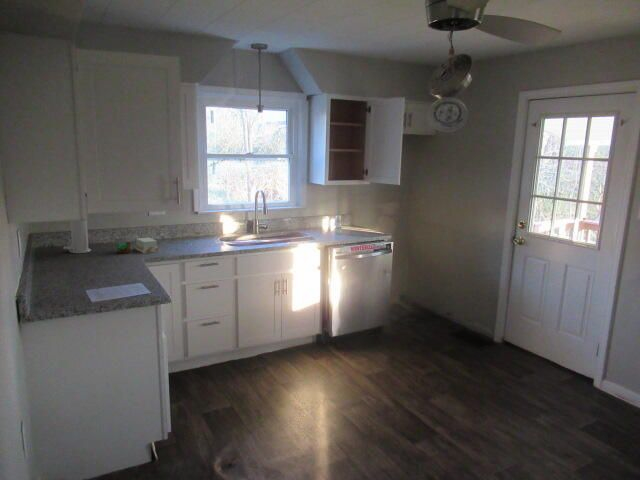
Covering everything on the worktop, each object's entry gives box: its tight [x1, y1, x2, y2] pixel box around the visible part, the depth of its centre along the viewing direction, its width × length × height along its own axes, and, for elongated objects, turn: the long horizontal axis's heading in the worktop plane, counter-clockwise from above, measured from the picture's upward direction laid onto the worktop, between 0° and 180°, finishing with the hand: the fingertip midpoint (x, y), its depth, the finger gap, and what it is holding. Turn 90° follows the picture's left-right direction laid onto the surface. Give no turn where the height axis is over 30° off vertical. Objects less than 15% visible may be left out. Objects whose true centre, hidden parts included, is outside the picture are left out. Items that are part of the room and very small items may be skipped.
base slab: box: [135, 243, 159, 254], centre depth 320 cm, size 10×14×4 cm
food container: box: [114, 235, 132, 255], centre depth 309 cm, size 12×6×10 cm, turn 62°
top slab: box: [136, 237, 158, 248], centre depth 319 cm, size 9×13×4 cm
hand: (146, 203), depth 329 cm, fingers open, 9 cm apart
